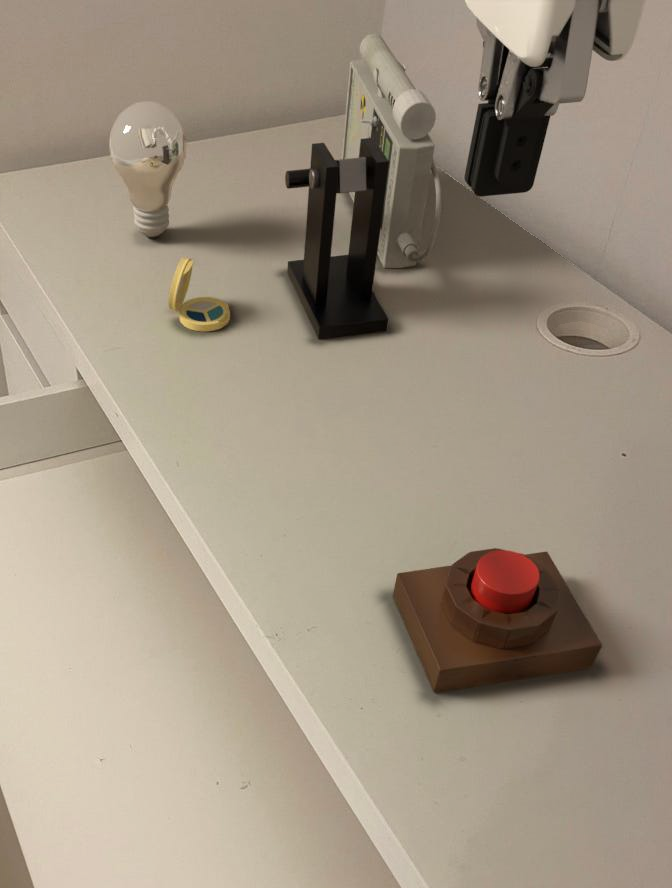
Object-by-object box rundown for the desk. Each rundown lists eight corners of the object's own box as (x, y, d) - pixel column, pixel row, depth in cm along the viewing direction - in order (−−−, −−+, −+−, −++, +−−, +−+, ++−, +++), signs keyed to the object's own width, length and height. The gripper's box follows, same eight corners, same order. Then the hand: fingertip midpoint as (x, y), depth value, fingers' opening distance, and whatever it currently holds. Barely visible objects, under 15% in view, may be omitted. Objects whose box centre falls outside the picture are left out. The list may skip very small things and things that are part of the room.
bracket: (287, 273, 89) (295, 127, 80) (350, 266, 90) (366, 120, 80) (318, 339, 82) (331, 187, 72) (386, 331, 83) (409, 179, 73)
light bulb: (153, 262, 91) (146, 127, 82) (101, 238, 94) (89, 106, 85) (203, 234, 94) (201, 101, 85) (151, 211, 97) (144, 81, 88)
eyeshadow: (222, 334, 83) (222, 280, 79) (166, 326, 84) (163, 272, 80) (235, 307, 86) (236, 254, 82) (181, 299, 87) (180, 246, 83)
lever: (285, 194, 88) (284, 165, 87) (339, 188, 88) (338, 159, 87) (322, 195, 77) (321, 161, 76) (383, 188, 77) (383, 155, 76)
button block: (538, 574, 64) (554, 530, 61) (592, 668, 59) (612, 624, 56) (392, 596, 63) (400, 552, 60) (433, 693, 58) (445, 650, 55)
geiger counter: (341, 22, 92) (408, 135, 75) (407, 18, 92) (489, 129, 76) (329, 173, 102) (386, 300, 86) (389, 168, 102) (456, 294, 86)
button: (518, 566, 60) (525, 545, 58) (542, 609, 57) (550, 589, 56) (461, 574, 59) (467, 554, 58) (483, 618, 57) (490, 598, 56)
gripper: (800, -263, 33) (626, 250, 47) (610, -316, 43) (513, 124, 57) (590, -253, 33) (477, 265, 46) (446, -309, 42) (388, 134, 56)
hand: (497, 186), depth 52 cm, fingers closed
